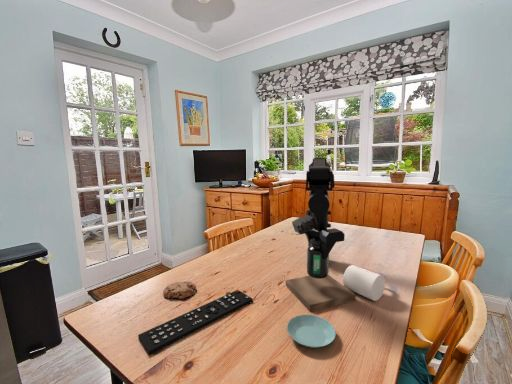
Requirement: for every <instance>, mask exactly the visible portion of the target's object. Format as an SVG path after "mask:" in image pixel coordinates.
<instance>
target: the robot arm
mask: <svg viewBox="0 0 512 384" xmlns="http://www.w3.org/2000/svg"><path fill="white" fill-rule="evenodd" d="M333 172H334V171H332V170H331V165H330V163H328V162H327V158H326V157H314V158H312V162H311V163H310V164H308V170H306V177H305V179H306V180H305V191H307V192H309V191H310V192H309V198H308V203H307V207H308V209H306V210H305V215H303V216H300V217H298V218H296V219H295V220H293V221H292V222H291V224H292V227H293V229H294V232H295V233H298V234H299V235H304V234H305V237H306V239H307V242H308V244H307V245H308V247H309V246H310V245H311V244H310V242H311V238H312V237H316V236H318V237H320V239H317V240H318V241H319V242H320V243H321V247H322V257H323V259H326V258H327V257H328V255H329V256H330V253H331V252H332V249H333V248H334V246H335V244H337V243H340V242H345V237H346V236H345V233H344V232H343V231H342V230H339V229H338V228H331V227H332V224H331V223H329V215H331V214H332V211H331V210H329V209H330V199H329V192H332V191H333V189H334V188H335V174H334V173H333ZM308 247H307V248H308Z"/></svg>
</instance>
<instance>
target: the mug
mask: <svg viewBox="0 0 512 384" xmlns="http://www.w3.org/2000/svg"><path fill="white" fill-rule="evenodd" d="M342 277H343V278H342V283H343V284H342V285H343V286H345V287H346V288H347V289H349V290H350V291H352V292H353V293H356V294H358V295H361V297H364V298H367V299H368V300H369V299H370V300H371V301H373V302H377V301H379V300H380V299H381V297H382V296H383V294H384V291H385V287H386V280H385V277H384V276H383V275H382V274H379V273H377V272H374V271H371V270H368V269H365V268H362V267H360V266H356V265H355V264H354V265H353V264H352V265H351V264H350V265H349V266H348V267H347V268H346V269H345V271H344V274H343V276H342Z"/></svg>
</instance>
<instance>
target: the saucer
mask: <svg viewBox="0 0 512 384" xmlns="http://www.w3.org/2000/svg"><path fill="white" fill-rule="evenodd" d="M286 330H287V331H286V332H287V333H288V334H289V336H290V337H291V339H292V340H294V342H296V343H298V344H299V345H302V346H304V347H307V348H312V349H313V348H314V349H316V348H323V347H325V346H326V347H327V346H328V345H330V344H332V342H333V341H334V340H335V338H336V335H337V334H336V330H335V328H334V326H333V324H332V323H330V322H329V321H328V320H327V319H325V318H323V317H321V316H319V315H315V314H314V315H313V314H300V315H299V314H298V315H296V316H294V317H292V318H291V319H290V320H289V321H288V322H287V325H286Z"/></svg>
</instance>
